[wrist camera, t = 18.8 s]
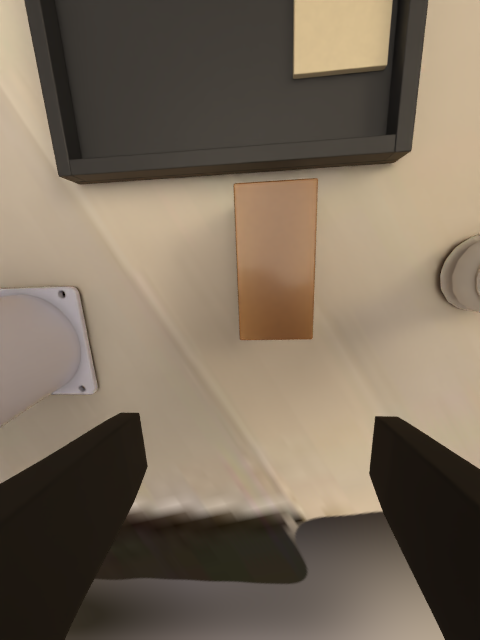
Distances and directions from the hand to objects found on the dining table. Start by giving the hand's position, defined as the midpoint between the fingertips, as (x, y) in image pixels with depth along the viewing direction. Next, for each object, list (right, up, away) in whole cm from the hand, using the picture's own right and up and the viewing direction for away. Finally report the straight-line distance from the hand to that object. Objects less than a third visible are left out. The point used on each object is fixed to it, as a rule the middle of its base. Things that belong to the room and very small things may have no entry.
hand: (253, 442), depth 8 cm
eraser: (+2, +7, +8) cm, 11 cm away
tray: (-1, +18, +6) cm, 19 cm away
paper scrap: (+4, +18, +5) cm, 19 cm away
